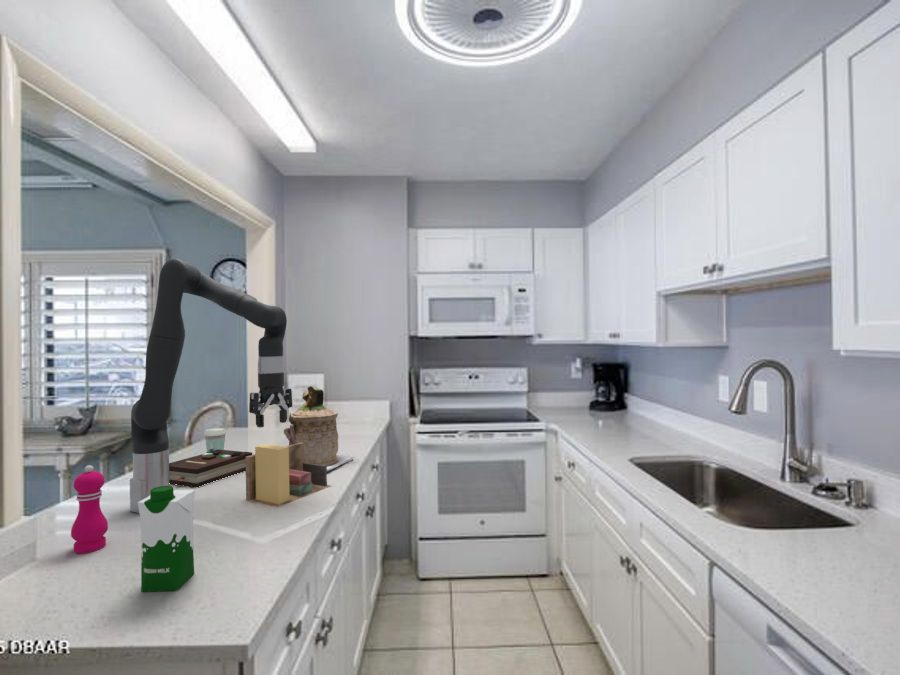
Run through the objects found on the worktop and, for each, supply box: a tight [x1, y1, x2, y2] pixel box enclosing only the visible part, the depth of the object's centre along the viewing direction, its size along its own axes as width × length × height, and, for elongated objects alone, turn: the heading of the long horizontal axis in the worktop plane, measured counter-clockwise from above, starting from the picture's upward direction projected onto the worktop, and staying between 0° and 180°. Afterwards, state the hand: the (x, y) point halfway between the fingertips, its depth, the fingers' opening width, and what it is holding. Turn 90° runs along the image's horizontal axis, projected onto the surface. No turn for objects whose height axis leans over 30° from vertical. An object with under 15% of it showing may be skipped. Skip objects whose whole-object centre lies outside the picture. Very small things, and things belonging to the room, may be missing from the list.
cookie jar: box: [283, 385, 354, 472], centre depth 191 cm, size 25×25×32 cm
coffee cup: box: [203, 427, 227, 452], centre depth 206 cm, size 8×8×12 cm
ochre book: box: [254, 443, 290, 504], centre depth 145 cm, size 4×10×16 cm, turn 61°
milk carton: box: [138, 485, 196, 593], centre depth 99 cm, size 9×9×20 cm
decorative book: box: [169, 449, 253, 488], centre depth 178 cm, size 19×8×30 cm
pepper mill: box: [70, 464, 109, 554], centre depth 116 cm, size 7×7×20 cm
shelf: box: [245, 443, 331, 508], centre depth 152 cm, size 22×14×14 cm, turn 151°
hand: (271, 424), depth 146 cm, fingers open, 8 cm apart
